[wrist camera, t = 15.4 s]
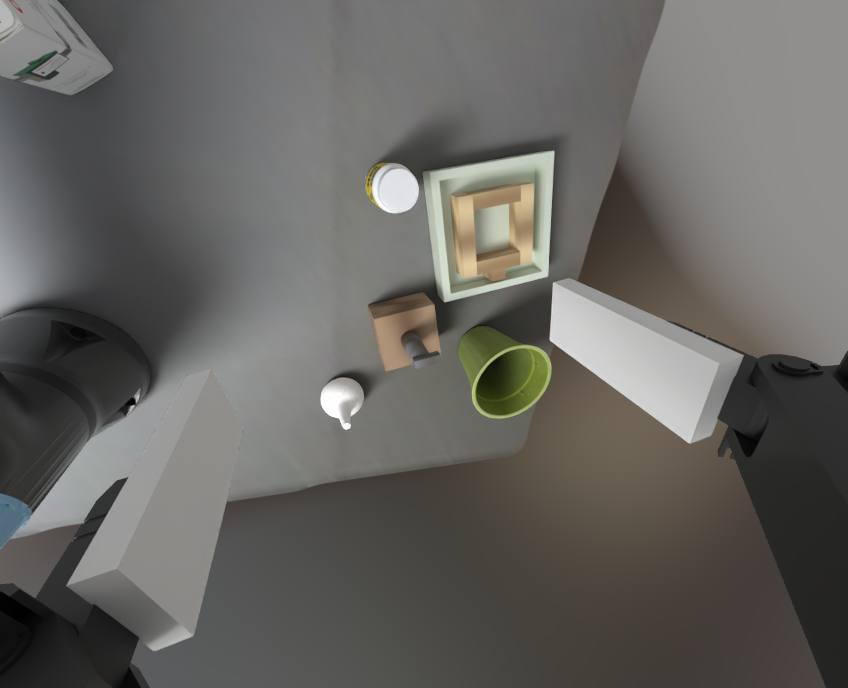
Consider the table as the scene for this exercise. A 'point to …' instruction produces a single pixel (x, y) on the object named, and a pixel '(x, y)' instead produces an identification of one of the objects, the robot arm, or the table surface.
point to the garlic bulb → (342, 399)
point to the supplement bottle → (391, 187)
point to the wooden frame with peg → (519, 229)
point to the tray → (488, 219)
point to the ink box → (47, 47)
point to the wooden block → (406, 331)
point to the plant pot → (503, 372)
